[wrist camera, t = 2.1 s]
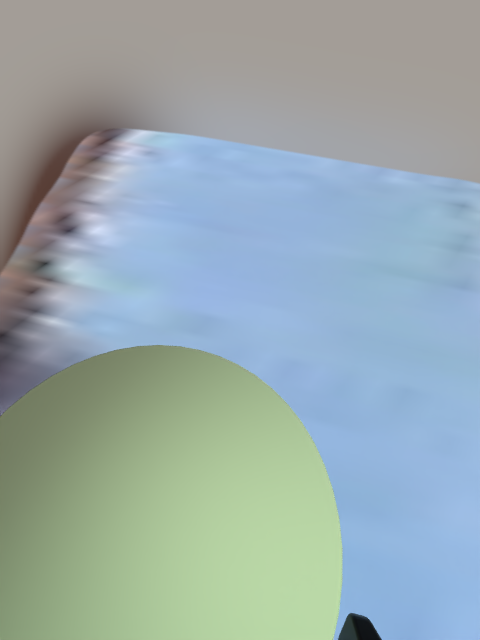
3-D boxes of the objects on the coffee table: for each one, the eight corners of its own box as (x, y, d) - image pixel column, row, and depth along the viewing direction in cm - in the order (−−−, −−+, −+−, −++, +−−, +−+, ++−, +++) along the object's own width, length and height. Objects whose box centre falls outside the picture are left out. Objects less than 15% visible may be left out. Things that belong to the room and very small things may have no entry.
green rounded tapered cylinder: (229, 615, 14) (322, 946, 3) (102, 580, 15) (-232, 777, 3) (255, 473, 17) (352, 387, 6) (148, 446, 17) (51, 313, 6)
